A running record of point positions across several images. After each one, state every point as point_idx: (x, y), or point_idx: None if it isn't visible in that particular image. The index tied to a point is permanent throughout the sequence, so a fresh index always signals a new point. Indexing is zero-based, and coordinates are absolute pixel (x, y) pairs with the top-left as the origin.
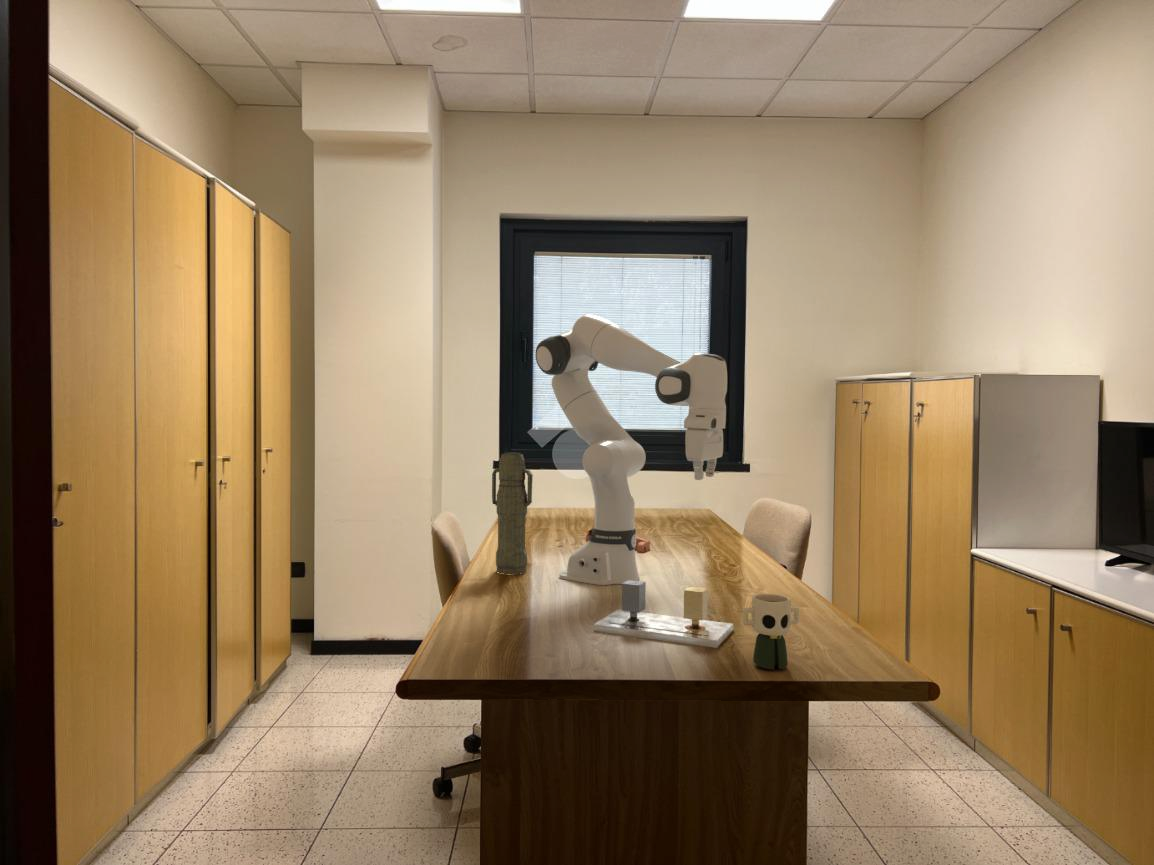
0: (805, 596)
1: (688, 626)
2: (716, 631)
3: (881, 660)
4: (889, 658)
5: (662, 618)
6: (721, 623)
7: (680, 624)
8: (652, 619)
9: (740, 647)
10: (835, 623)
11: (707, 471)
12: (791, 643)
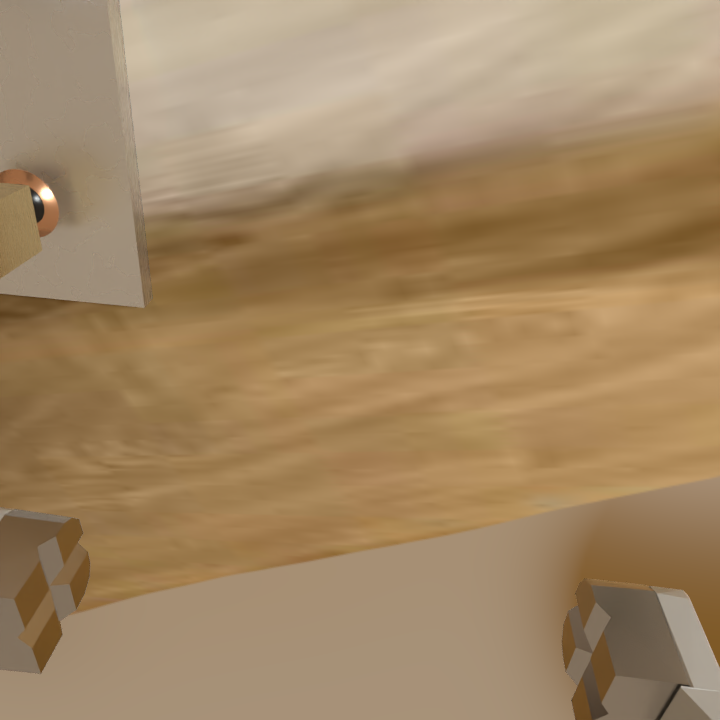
0: (685, 461)
1: (22, 180)
2: (30, 273)
3: (108, 581)
4: (130, 592)
5: (64, 57)
6: (126, 274)
7: (32, 146)
8: (26, 20)
9: (8, 334)
10: (363, 523)
11: (593, 661)
12: (121, 439)
